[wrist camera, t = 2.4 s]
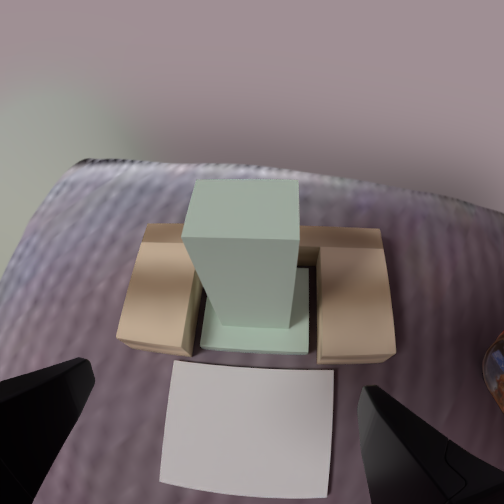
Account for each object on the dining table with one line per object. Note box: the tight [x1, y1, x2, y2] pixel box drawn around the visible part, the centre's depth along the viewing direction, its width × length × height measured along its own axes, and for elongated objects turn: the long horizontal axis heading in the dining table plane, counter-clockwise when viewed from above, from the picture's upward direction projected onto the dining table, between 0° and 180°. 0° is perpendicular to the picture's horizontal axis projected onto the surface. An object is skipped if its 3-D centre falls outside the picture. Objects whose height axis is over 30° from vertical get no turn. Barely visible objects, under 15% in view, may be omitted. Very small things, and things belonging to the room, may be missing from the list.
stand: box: [116, 224, 396, 364], centre depth 23 cm, size 10×20×3 cm, turn 85°
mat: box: [159, 360, 334, 498], centre depth 18 cm, size 10×12×1 cm
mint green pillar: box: [181, 179, 309, 355], centre depth 19 cm, size 7×8×12 cm
